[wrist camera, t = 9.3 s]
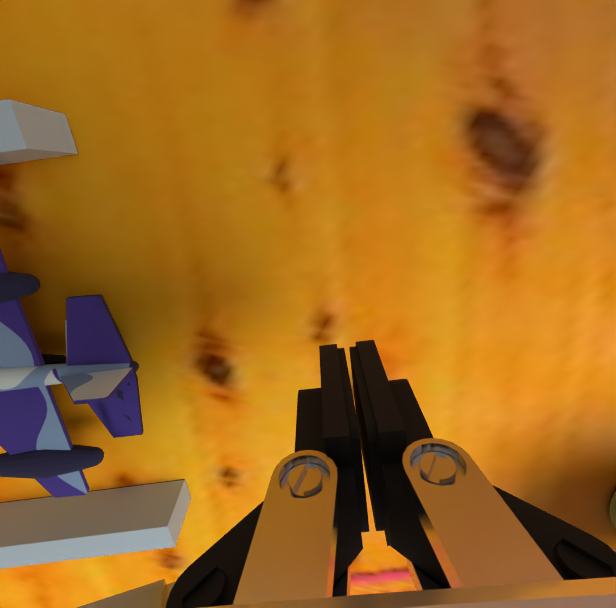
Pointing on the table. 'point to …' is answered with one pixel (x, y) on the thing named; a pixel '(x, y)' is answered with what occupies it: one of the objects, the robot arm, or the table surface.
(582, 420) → the table surface
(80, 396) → the toy airplane
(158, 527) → the white u-shaped frame
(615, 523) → the plant pot
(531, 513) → the robot arm
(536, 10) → the table surface
